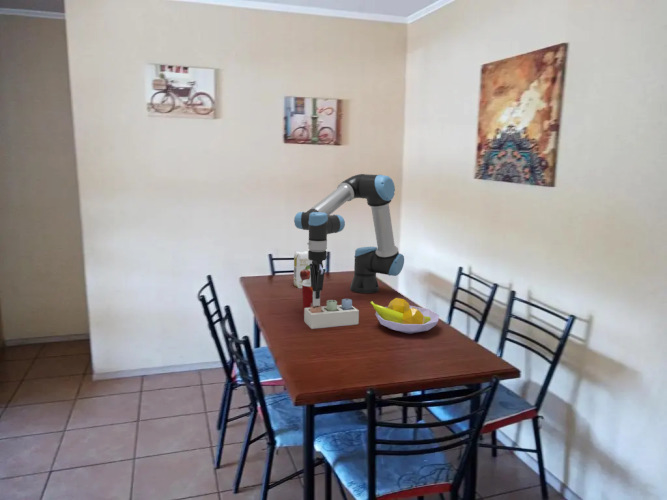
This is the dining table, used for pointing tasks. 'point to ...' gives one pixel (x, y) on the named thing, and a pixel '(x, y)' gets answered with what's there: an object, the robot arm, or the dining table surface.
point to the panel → (331, 317)
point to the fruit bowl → (405, 316)
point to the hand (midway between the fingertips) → (316, 305)
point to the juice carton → (301, 268)
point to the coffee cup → (307, 294)
